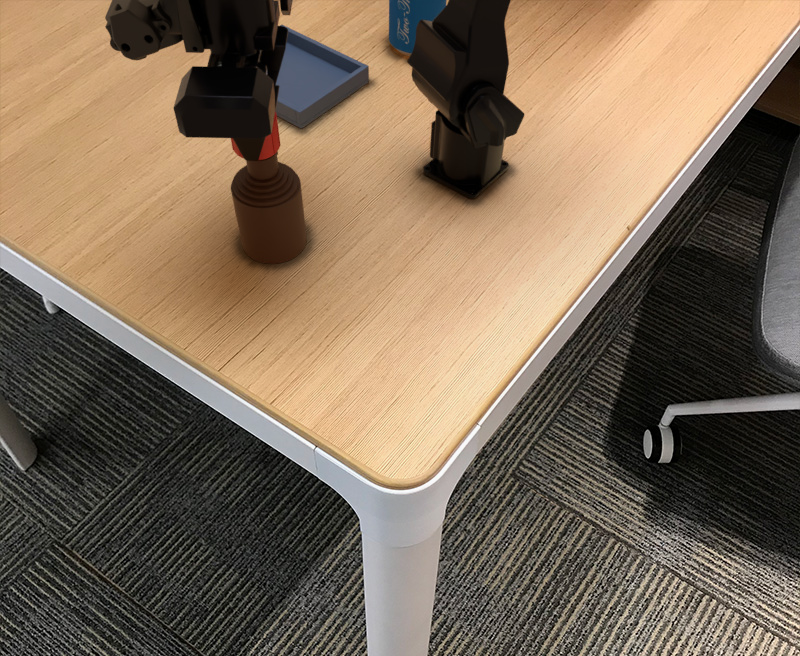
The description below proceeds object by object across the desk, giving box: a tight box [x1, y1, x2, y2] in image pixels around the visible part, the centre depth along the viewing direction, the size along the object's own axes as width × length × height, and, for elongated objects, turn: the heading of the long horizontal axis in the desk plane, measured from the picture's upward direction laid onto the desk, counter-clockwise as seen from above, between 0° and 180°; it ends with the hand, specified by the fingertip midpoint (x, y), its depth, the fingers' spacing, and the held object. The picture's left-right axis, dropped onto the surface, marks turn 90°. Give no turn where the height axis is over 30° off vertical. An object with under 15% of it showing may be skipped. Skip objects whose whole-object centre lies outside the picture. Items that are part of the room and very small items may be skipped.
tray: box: [275, 24, 370, 130], centre depth 85 cm, size 13×11×2 cm
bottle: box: [230, 150, 308, 265], centre depth 67 cm, size 6×6×10 cm
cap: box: [230, 112, 281, 160], centre depth 62 cm, size 4×4×3 cm
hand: (254, 143), depth 62 cm, fingers closed on cap, 4 cm apart
